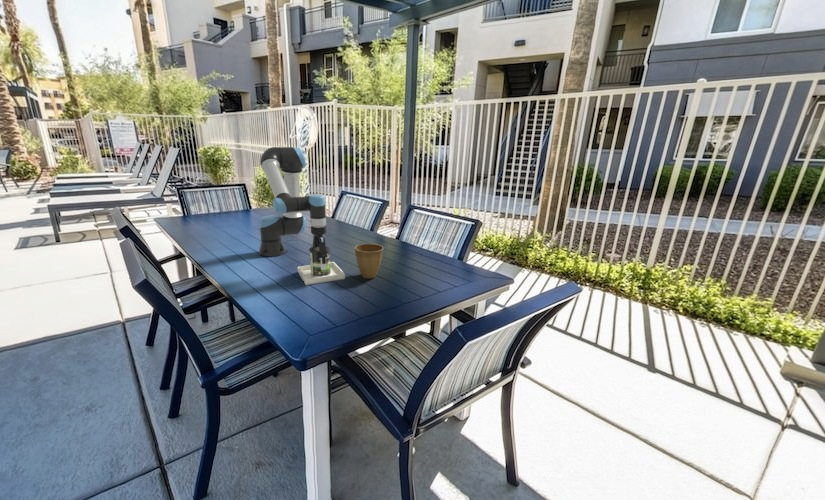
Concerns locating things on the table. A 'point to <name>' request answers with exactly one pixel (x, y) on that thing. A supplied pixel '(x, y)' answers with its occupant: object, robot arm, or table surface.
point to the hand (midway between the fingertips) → (320, 265)
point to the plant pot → (368, 259)
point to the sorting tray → (309, 280)
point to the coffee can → (319, 262)
